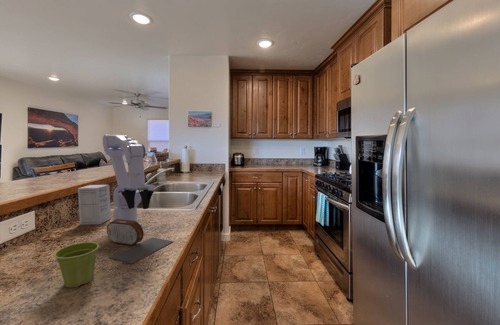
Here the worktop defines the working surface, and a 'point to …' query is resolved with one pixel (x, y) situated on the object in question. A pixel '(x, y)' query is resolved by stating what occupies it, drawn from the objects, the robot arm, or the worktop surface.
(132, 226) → the tin
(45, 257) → the worktop surface
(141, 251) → the mat
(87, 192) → the supplement box
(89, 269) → the plant pot
